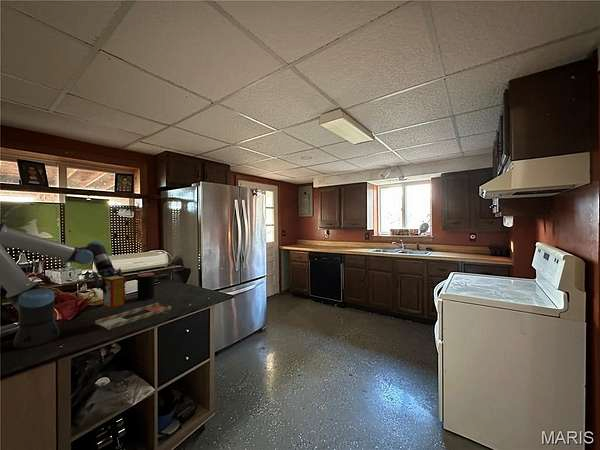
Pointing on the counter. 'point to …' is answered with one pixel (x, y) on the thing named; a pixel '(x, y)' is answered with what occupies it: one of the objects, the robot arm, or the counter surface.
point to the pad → (111, 322)
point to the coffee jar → (145, 286)
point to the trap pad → (155, 308)
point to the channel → (133, 317)
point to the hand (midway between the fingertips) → (117, 295)
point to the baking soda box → (114, 292)
